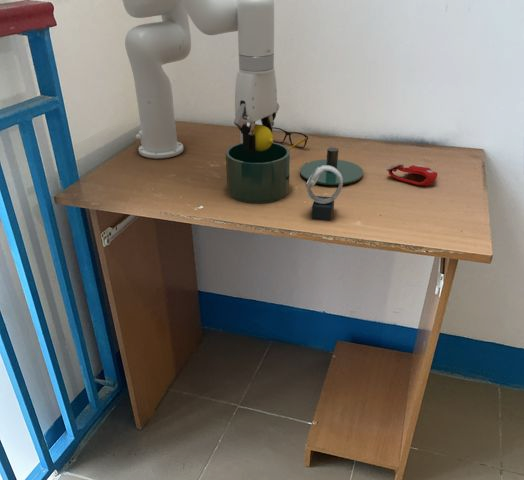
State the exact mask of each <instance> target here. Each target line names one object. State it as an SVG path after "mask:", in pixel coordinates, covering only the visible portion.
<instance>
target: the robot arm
mask: <svg viewBox="0 0 524 480" xmlns="http://www.w3.org/2000/svg"><path fill="white" fill-rule="evenodd" d="M122 3H123V7H124V9H125V11H126V13H127V15H129V16H130V17H131V18H136V19H145V18H152V17H158V16H160V17H161V20H162V21H157V22H156V21H155V22H148V23H142V24H138V25H135V26H134V27H132V28H131V29H129V30H128V31H127V33H126V35H125V38H124V47H125V51H126V54H127V55H126V56H127V57H128V62H129V64H130V67H131V71H132V77H133V83H134V87H135V94H136V102H137V108H138V116H139V122H140V129H139V131H138V133H137V134H136V135H135V139H136V140H139V141H140V143H141V145H139V147H138V153H139V155H140V156H142V157H145V158H148V159H169V158H172V157H176V156H178V155H180V154H182V153H183V152H184V150H185V148H184V144H183V143H182V142H180V141H179V140H178V135H177V127H176V116H175V106H174V105H175V104H174V98H173V88H172V82H171V79H170V78H169V76H168V75H167V73H166V72H165V70H164V69H163V65H166V64H171V63H176V62H179V61H182V60H185V59H187V58H188V56H189V55H190V53H191V49H192V36H191V35H192V34H191V29H190V21H189V18H190V20H191V21H192V23H193V24H194V26H195V27H196V28H197V29H198V31H200V32H201V33H202V34H203V35H206V36H216V35H223V34H227V33H233V32H237V43H238V44H237V45H238V71H237V73H236V79H235V89H234V115H235V118H234V119H233V124H234V125H235V126H236V127H237V128H238V130H240V131H241V133H242V134H243V150H244V151H248V152H251V153H254V152H255V135H254V134H253V132H254V126H255V121H257V120H260V119H261V123H262V126H266V127H267V128H269V129H270V131H271V132H272V133H273V128H272V127H274V125H275V119H276V116H277V114H278V111H279V109H280V104H279V103H278V91H277V79H276V71H275V70H276V69H275V1H274V0H122ZM247 122H249V123H250V126H249V127H248V126H247ZM240 131H239V132H240Z"/></svg>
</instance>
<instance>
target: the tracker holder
mask: <svg viewBox="0 0 524 480" xmlns="http://www.w3.org/2000/svg"><path fill="white" fill-rule="evenodd" d="M404 166H405V164H403V163H398V164H392V165H390V166H388V167H387V168H385V170H386V171H387V172H388V175H389V176H390V177H392V178H394V179H396V180H398V181H401V182H405V183H409V184H413V185H415V186H416V185H417V186H424V187H425V186H430V185H431V184H433V183H434V182H435V181H436V179H437V178H438V172H436V171H433V170H432V169H431V168H430V167H427V166H425V165H420V164H419V165H416V164H415V165H409V166H408V167H404ZM397 171H400V172H403V173H408V174H412V175H413V174H415V175H419V176H423V177H424V178H425V179H424V180H423V181H421V182H420V181H416V180H412V179H408V178H404V177H402V176H401V177H400V176H398V175H396V174H394V173H396V172H397Z"/></svg>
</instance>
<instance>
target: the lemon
mask: <svg viewBox="0 0 524 480" xmlns="http://www.w3.org/2000/svg"><path fill="white" fill-rule="evenodd" d="M249 126H250V125H249ZM249 126H248V127H249ZM253 134H254V135H255V150H256V151H265V150H267V149H268V148H270V146H271V145H272V143H273V140H274V134H273V131H272V132H271V131H270V129H269V128H267V127H266V126H262V125H258V124H255V126H254V132H253Z"/></svg>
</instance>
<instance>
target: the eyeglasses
mask: <svg viewBox="0 0 524 480" xmlns="http://www.w3.org/2000/svg"><path fill="white" fill-rule="evenodd" d="M273 129H274V130H279V131H282V132H283V133H284V137H283V140H282V141H277V140H274V139H273V142H274V143H278V144H283V143H284V142H285V141H286V139H287V136H288V140H289V143H290V145H291V146H290V147H287V148H288V149H289V150H291V149H293V148H298V149H303V148H305V147H306V145H307V143H308V139H309V136H308V135H307V134H304V133H302V132H298V131H287V130H284V129H282V128H281V127H280V128H279V127H274V126H273V127H272V130H273ZM293 134H296V135H297V134H298V135H302V136H304V138H302V139H301V140H299V141H297V142H296V143H294V144H293V142H292V137H291V135H293ZM302 143H304V144H303V146H298V145H300V144H302Z"/></svg>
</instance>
